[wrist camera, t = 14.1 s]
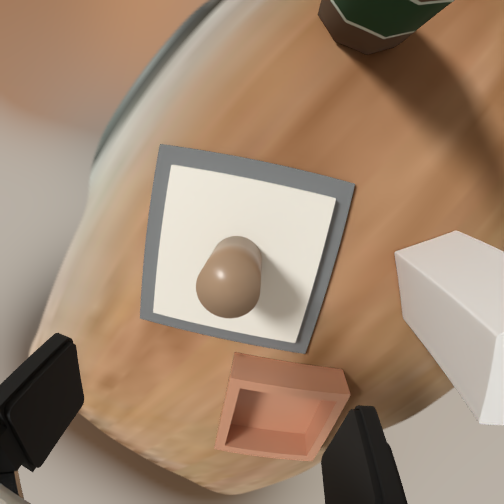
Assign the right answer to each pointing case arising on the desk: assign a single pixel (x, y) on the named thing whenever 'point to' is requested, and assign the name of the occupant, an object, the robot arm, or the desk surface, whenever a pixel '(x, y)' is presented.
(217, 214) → the cover
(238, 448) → the terracotta square tray
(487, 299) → the milk carton
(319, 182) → the mat
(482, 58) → the desk surface
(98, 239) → the desk surface
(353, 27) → the beer bottle
